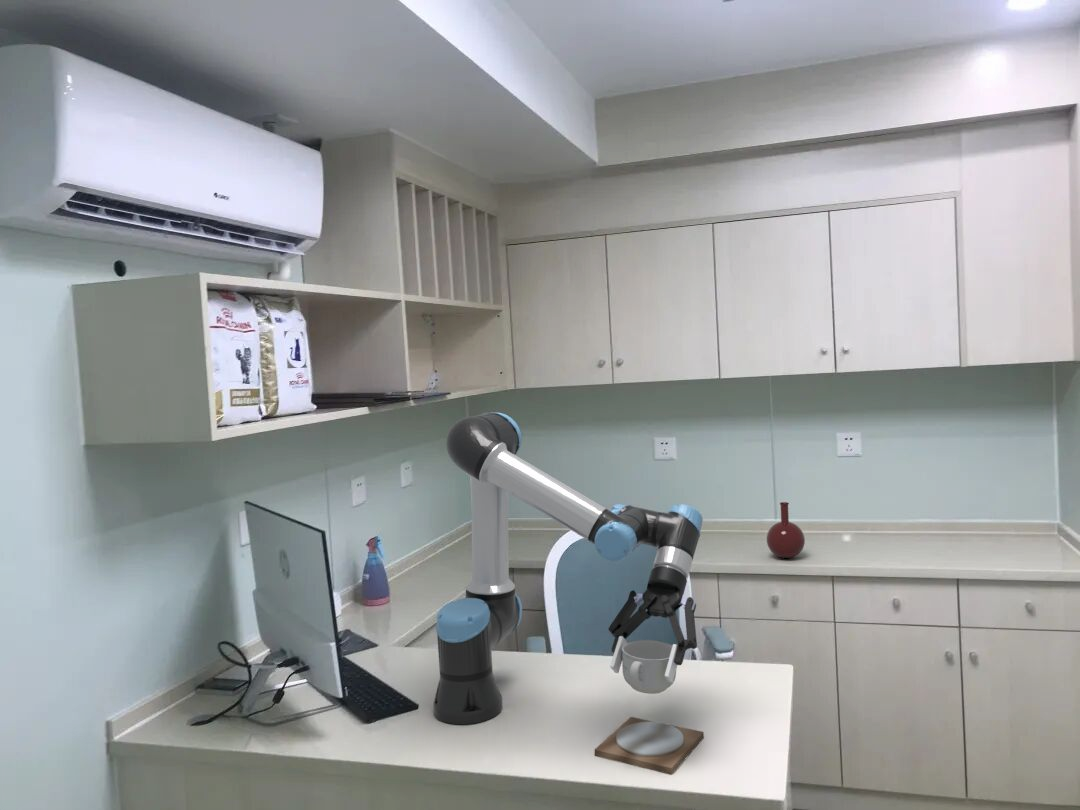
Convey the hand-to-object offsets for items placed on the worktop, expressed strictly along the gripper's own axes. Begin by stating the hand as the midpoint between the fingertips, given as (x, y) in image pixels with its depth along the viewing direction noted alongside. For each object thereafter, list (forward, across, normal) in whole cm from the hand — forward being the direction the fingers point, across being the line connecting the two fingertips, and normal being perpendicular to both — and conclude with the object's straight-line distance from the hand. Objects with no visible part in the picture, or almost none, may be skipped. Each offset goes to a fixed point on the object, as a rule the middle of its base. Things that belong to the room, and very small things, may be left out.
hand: (640, 674), depth 159 cm
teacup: (+1, 0, -5) cm, 5 cm away
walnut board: (+9, 0, -13) cm, 16 cm away
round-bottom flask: (-97, +16, -120) cm, 155 cm away
